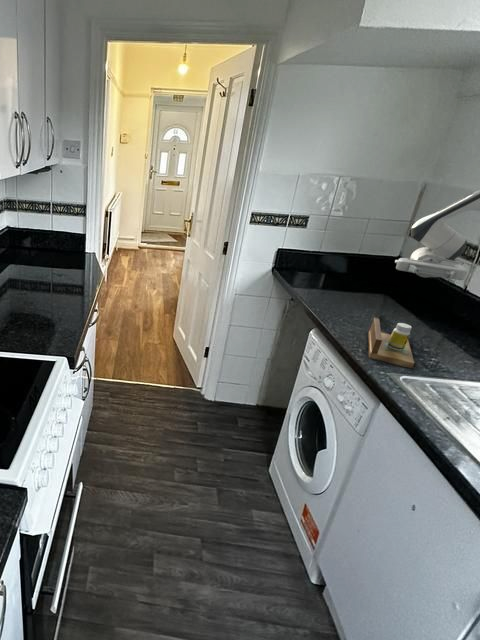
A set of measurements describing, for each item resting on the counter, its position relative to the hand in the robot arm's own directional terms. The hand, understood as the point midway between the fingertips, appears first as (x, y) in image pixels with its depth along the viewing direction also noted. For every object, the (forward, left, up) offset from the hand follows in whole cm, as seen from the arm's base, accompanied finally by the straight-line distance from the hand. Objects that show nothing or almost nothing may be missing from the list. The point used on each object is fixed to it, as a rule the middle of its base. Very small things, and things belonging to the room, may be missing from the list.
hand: (432, 273), depth 144 cm
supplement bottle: (+6, +19, -23) cm, 30 cm away
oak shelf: (+7, +17, -25) cm, 31 cm away
